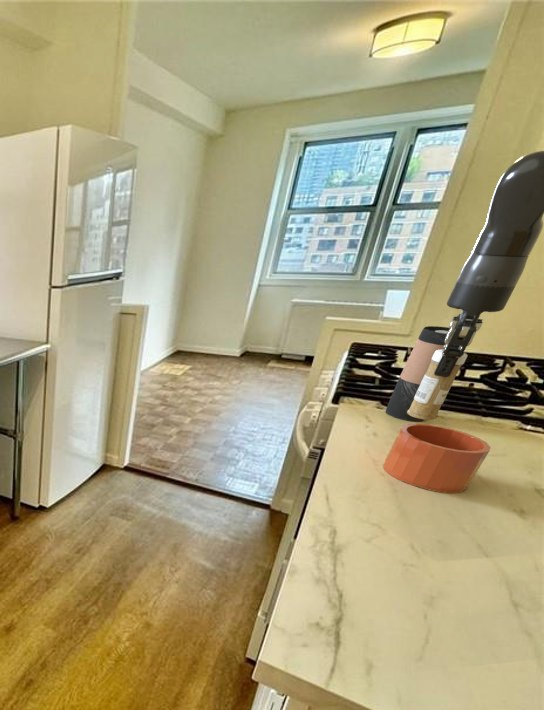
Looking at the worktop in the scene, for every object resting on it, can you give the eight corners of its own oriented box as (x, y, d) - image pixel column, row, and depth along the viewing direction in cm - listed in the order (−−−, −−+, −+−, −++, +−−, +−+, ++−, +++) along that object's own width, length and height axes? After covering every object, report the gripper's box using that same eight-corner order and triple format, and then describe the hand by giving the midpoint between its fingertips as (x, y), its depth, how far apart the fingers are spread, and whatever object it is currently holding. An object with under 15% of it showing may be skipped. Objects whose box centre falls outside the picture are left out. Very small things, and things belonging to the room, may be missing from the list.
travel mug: (435, 422, 110) (481, 334, 100) (402, 422, 110) (445, 335, 100) (406, 408, 116) (447, 325, 107) (375, 408, 116) (413, 326, 107)
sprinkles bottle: (439, 422, 96) (473, 356, 90) (410, 418, 98) (442, 353, 91) (429, 413, 100) (461, 349, 93) (402, 410, 101) (431, 347, 95)
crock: (421, 458, 95) (440, 422, 91) (485, 490, 85) (510, 451, 81) (367, 462, 94) (384, 425, 90) (425, 494, 84) (447, 454, 80)
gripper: (519, 289, 79) (467, 386, 87) (514, 278, 88) (468, 368, 96) (456, 284, 84) (413, 377, 92) (458, 275, 93) (418, 360, 101)
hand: (441, 372), depth 94 cm, fingers closed on sprinkles bottle, 4 cm apart
